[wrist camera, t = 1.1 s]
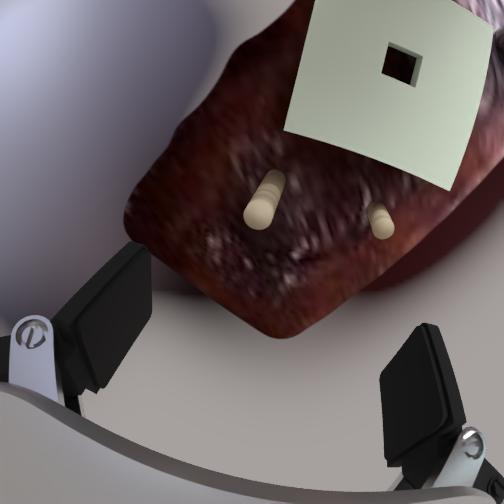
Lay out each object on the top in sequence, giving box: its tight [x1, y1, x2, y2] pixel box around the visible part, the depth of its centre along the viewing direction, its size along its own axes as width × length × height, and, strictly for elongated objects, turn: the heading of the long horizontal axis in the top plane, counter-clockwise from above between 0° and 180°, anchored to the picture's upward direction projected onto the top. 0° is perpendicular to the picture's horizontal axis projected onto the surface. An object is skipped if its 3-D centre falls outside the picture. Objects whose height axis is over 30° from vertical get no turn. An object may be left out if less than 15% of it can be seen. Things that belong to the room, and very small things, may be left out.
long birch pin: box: [244, 169, 286, 230], centre depth 30 cm, size 2×2×11 cm
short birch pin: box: [367, 201, 394, 239], centre depth 31 cm, size 2×2×5 cm
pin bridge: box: [284, 0, 494, 191], centre depth 22 cm, size 20×18×6 cm
